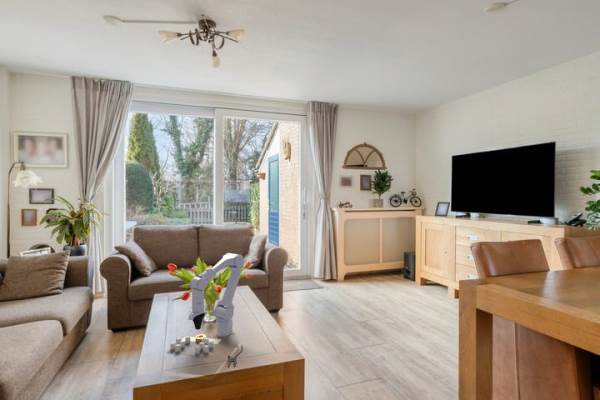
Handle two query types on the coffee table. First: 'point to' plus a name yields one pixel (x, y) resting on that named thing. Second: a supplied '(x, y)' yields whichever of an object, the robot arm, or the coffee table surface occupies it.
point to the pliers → (233, 358)
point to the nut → (200, 338)
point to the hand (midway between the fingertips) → (198, 328)
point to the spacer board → (193, 346)
